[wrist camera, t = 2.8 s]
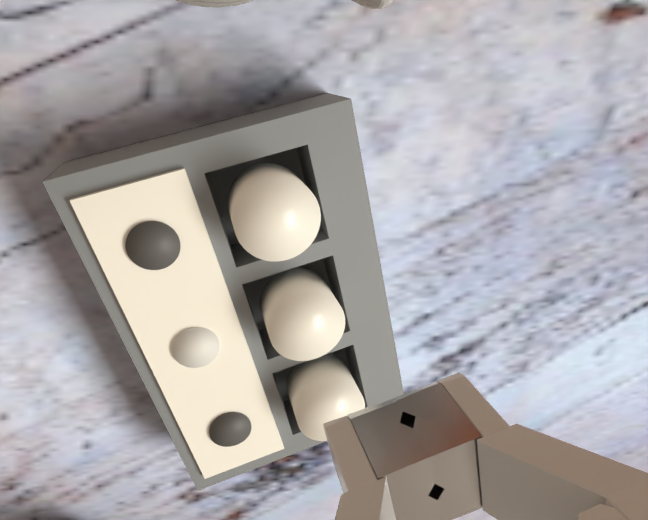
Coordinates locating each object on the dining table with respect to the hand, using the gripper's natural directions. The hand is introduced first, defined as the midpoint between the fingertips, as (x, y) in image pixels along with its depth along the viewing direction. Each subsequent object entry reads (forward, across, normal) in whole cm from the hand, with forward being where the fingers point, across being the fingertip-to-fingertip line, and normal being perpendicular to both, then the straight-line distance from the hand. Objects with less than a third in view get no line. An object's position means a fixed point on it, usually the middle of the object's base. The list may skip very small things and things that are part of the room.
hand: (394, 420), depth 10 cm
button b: (+16, 0, +6) cm, 17 cm away
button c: (+16, 0, +12) cm, 20 cm away
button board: (+19, +2, +6) cm, 20 cm away
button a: (+16, 0, 0) cm, 16 cm away
